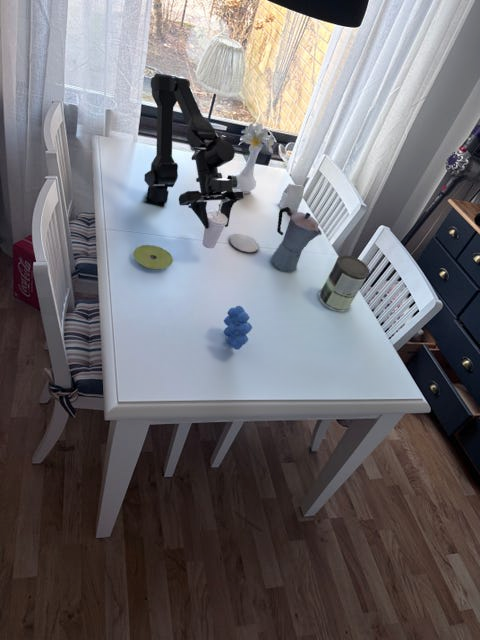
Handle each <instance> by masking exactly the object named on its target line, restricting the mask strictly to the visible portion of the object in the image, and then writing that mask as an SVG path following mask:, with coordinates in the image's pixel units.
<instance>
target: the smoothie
mask: <svg viewBox="0 0 480 640" xmlns="http://www.w3.org/2000/svg"><path fill="white" fill-rule="evenodd" d="M219 204H220V206H219V205H218V210H209V211H206V212H207V217H208V223H209V228H208V229H206V228H205V227H204V231H203V236H202V246H203V247H204V248H206V249H214V248H215V247H216V245H217V243H218V242H219V241H218V240H219V239H220V236H221V234H222V233H223V230H224V229H225V225H226V224H227V221H228V219H227V217H226V216H225V215H224V214H222V213H221V212H220V209H221V206H222V202H221V201H220V203H219Z"/></svg>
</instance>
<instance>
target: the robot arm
mask: <svg viewBox="0 0 480 640" xmlns="http://www.w3.org/2000/svg"><path fill="white" fill-rule="evenodd" d="M150 88H151V96H152V99H153V100H154V103H155V104H156V155H155V157H154V158H153V160H152V161H151V164H150V170H148V171H147V172H146V173H145V174H144V182H145V183H146V185H147V191H146V196H145V200H144V202H145V203H146V204H150V205H154V206H158V207H162V208H163V207H164V208H165V205H166V204H167V202H168V197H169V192H170V189H169V188H174V186H175V184H176V183H177V180H178V179H179V174H178V171H179V165H178V163H177V162H176V161H175V160H174V158H173V135H174V133H173V132H174V107H175V106H176V104H177V105H178V107H179V109H180V112H181V114H182V116H183V118H184V121H185V123H186V128H185V129H186V130H185V135H186V139H187V142H188V145H189V146H190V147H191V148H193V149H200V150H194V153H193V155H192V156H191V160H192V161H195V165H196V166H195V167H196V172H197V177H196V178H195V182H196V183H199V190H187V191H185V192H183V193H180V195H178V196H179V197H178V205H179V207H180V206H187V207H188V209H191V210H192V212H194V214H195V215H196V217H197V218H198V219H199V220H200V222H201V224H202V225H203V227H204V229H205V228H206V229H208V228H209V223H208V217H207V212H208V211H207V206H208V201H220V203H221V202H222V206H221V209H220V213H222V214H224V215H225V216H226V217H227V219H228V221H227V224H226V225H225V226H224V228H227V227H229V223H230V218H231V212H232V209H233V206H234V204H235V203H237V202H239V201H241V200H244V199H245V195H244V194H245V193H243V191H242V190H241V189H235V188H236V187H237V183H238V182H237V177H236V176H235V175H236V174H230V175H227V177H226V178H225V177H223V174H222V172H219V169H218V168H219V167H220V168H221V167H222V166H223V165H225V164H227V163H229V162H231V161H233V160H234V158H235V156H236V155H235V154H236V150H235V148H234V146H233V144H232V143H231V142H230V141H228V140H227V136H226V135H218V133H217V131H216V130H215V128H214V126H213V124H212V123H211V122H210V121H209V120H208V119H207V118H206V117H204V116H203V114H202V111H201V109H200V107H199V105H198V102H197V99H196V97H195V95H194V93H193V91H192V88H191V82H190V80H189V79H188V78H186V77H180V76H177V75H176V74H175V75H173V74H168V73H167V74H166V73H158V72H157V73H154V76H152V77H151V79H150ZM220 203H219V204H218V207H219V206H220Z"/></svg>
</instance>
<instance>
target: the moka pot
mask: <svg viewBox="0 0 480 640" xmlns="http://www.w3.org/2000/svg"><path fill="white" fill-rule="evenodd" d="M283 213H286V215H287V216H288V217H289V218H290V219H289V221H288V223H287V227H286V229H285V233H284V232H283V231H282V221H283ZM319 225H320V223H318V221H317V220H316V219H315V218H314V217H313V216H311V213H309V212H306V213H304V212H302V211H301V212H299V211H293V210H291V209H290V208H289V207H285V208H283V209H281V208H280V209H279V212H278V221H277V227H276V228H277V229H276V233H278V234H279V235H280V236H283V239H282V240H281V242H280V244H279V245H278V247H277V248H276V250H275V251H274V252H273V254H272V255H271V257H270V261H271V263H272V265H273V267H275V268H277V269H278V270H280V271H281V272H285V273H292V272H294V271H296V268H297V266H298V263H299V261H300V258H301V255H302V252H303V250H304V249H305V248H306V247H307V246H308V244H309V243H310V242H311V241H312V240H313V239H315V238H316V237H318V236H322V231H321V229H320V228H319Z"/></svg>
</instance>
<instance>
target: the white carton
mask: <svg viewBox="0 0 480 640" xmlns="http://www.w3.org/2000/svg"><path fill="white" fill-rule="evenodd" d="M305 187H306V186H305V185H300V184H294V183H288V185H286V188H285V189H284V190H283V192H282V195H281V197H280V200H279V203H278V206H279V208H280V209H283V208H285V207H289V208H290V209H291V210H293V211H295V212H298V210H299V208H300V205H301V203H302V200H303V198H304V192H305Z"/></svg>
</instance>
